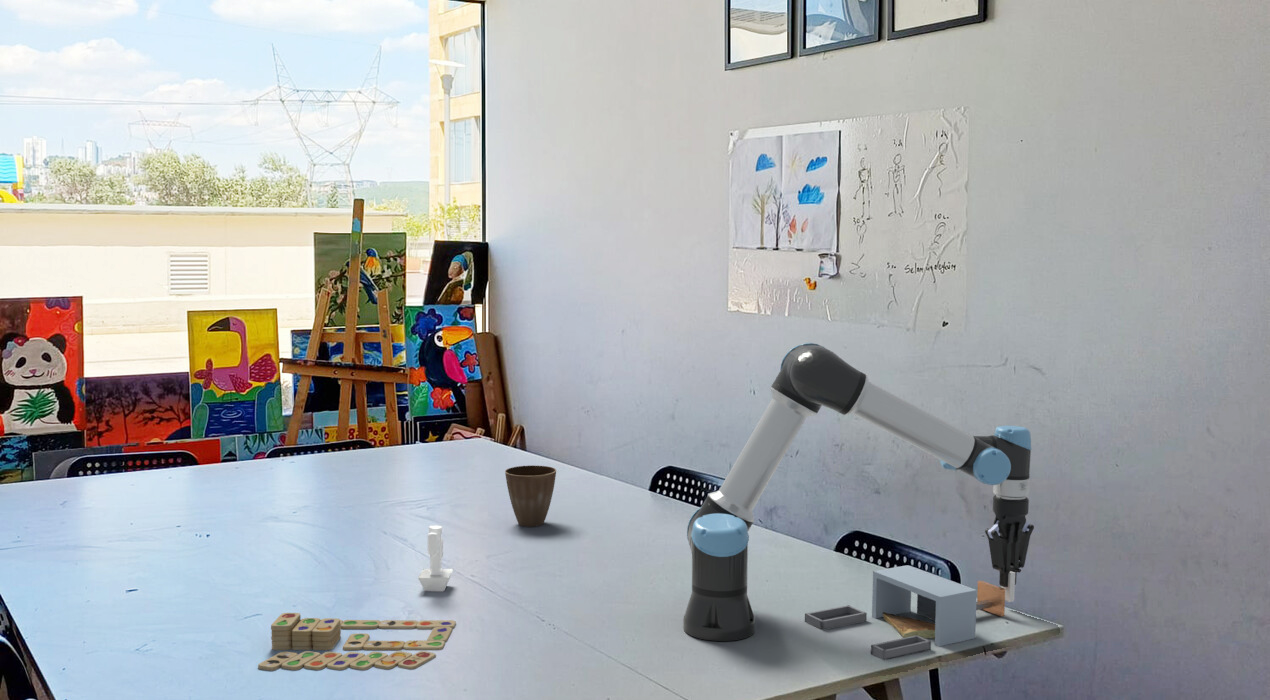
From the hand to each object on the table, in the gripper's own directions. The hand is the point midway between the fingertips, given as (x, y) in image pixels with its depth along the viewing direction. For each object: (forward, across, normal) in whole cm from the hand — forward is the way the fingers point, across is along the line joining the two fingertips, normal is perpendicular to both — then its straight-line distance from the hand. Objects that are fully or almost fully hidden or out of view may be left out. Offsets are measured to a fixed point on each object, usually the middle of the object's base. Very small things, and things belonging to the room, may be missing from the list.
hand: (1007, 599), depth 243 cm
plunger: (+2, -12, 0) cm, 13 cm away
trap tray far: (+2, -39, +12) cm, 41 cm away
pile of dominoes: (+3, -133, +45) cm, 141 cm away
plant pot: (+3, -64, +121) cm, 137 cm away
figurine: (+3, -108, +74) cm, 131 cm away
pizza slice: (+3, -30, 0) cm, 30 cm away
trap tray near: (+2, -39, -9) cm, 40 cm away
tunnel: (+2, -25, 0) cm, 25 cm away
